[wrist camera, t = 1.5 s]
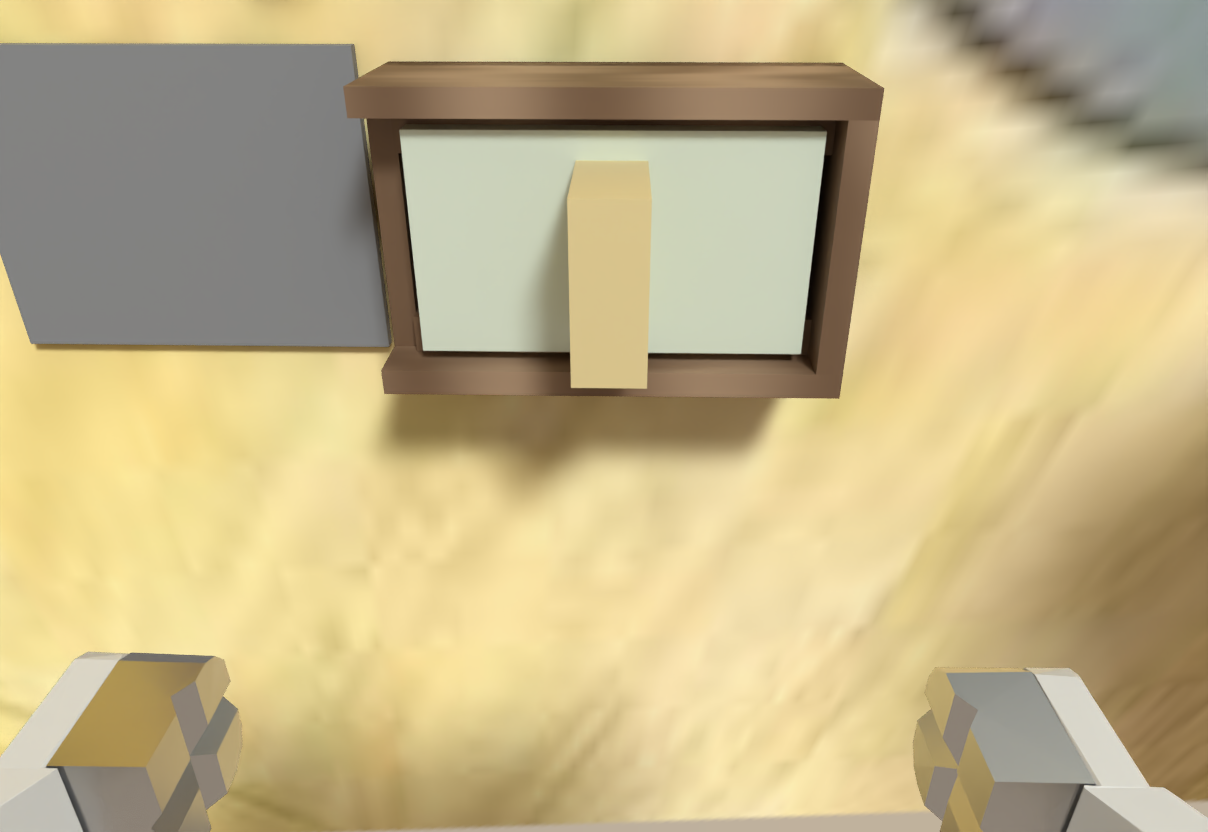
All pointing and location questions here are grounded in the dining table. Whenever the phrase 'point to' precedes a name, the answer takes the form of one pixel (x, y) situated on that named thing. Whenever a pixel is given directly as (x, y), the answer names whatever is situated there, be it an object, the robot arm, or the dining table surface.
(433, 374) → the box
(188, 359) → the dining table surface
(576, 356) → the lid
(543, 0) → the dining table surface
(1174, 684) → the dining table surface
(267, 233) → the mat
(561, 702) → the dining table surface
